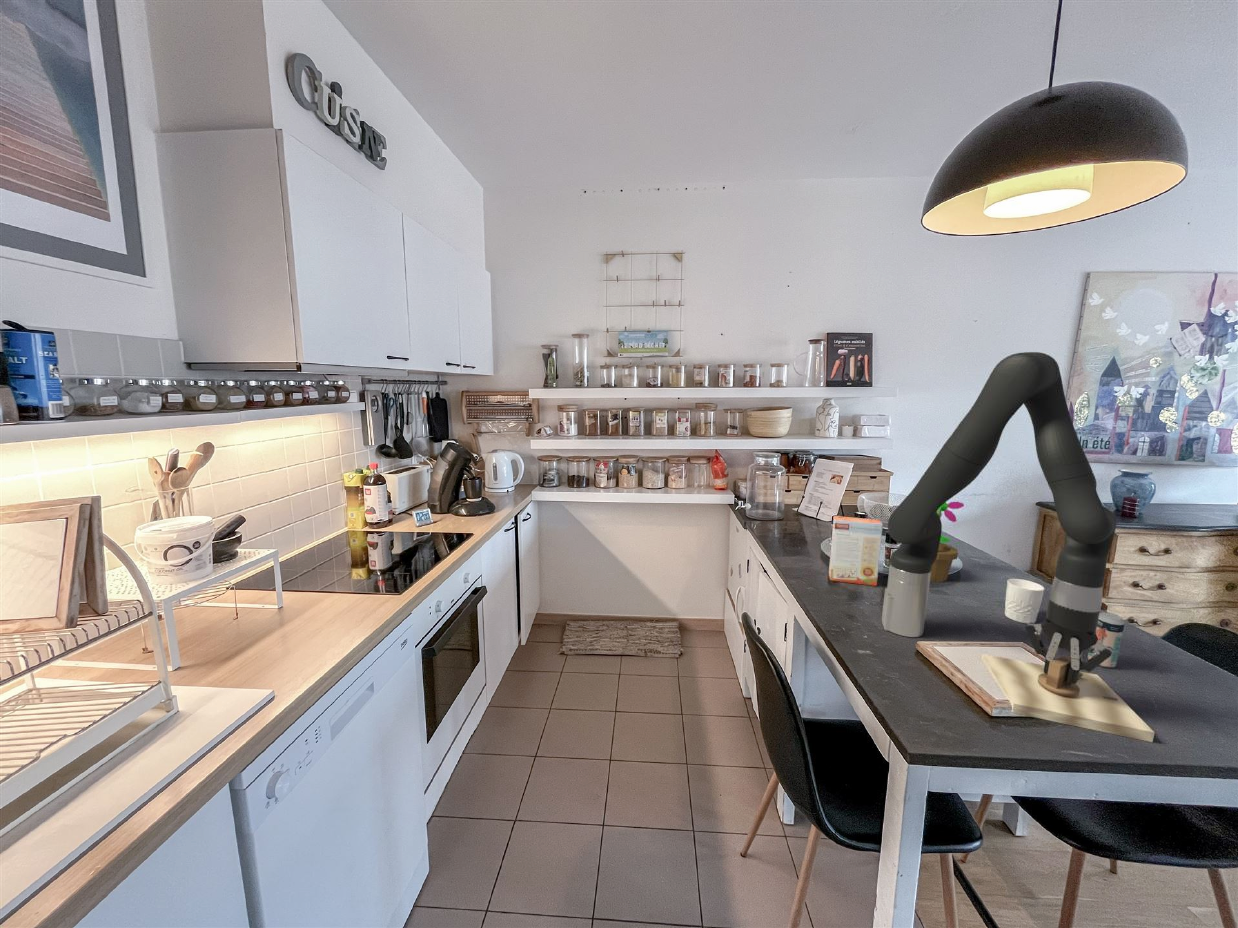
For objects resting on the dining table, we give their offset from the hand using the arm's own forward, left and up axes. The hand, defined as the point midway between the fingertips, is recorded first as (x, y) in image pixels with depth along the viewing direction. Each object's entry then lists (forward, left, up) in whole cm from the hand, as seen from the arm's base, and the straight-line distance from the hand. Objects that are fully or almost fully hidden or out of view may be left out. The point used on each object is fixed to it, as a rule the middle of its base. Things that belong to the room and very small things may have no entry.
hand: (1059, 679), depth 100 cm
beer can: (+16, +20, -4) cm, 26 cm away
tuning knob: (+2, +2, -2) cm, 3 cm away
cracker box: (-35, +50, -4) cm, 61 cm away
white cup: (+7, +40, -4) cm, 41 cm away
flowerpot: (-10, +65, -4) cm, 66 cm away
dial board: (0, 0, -4) cm, 4 cm away
